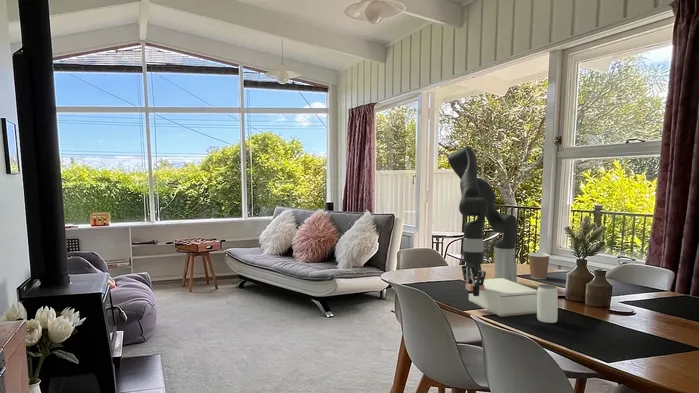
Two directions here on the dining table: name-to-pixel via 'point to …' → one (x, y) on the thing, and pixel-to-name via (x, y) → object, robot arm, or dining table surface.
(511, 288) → the mailer lid
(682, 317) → the dining table surface
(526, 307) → the box
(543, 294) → the can
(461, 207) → the robot arm
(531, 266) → the coffee cup
